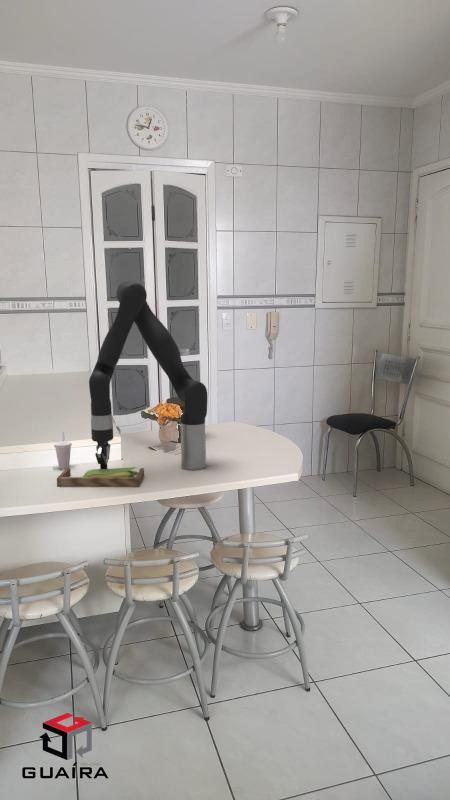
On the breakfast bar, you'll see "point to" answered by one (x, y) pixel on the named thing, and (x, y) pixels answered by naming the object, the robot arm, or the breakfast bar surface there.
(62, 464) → the smoothie
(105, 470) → the edible corn
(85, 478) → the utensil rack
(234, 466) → the breakfast bar surface
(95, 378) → the robot arm
